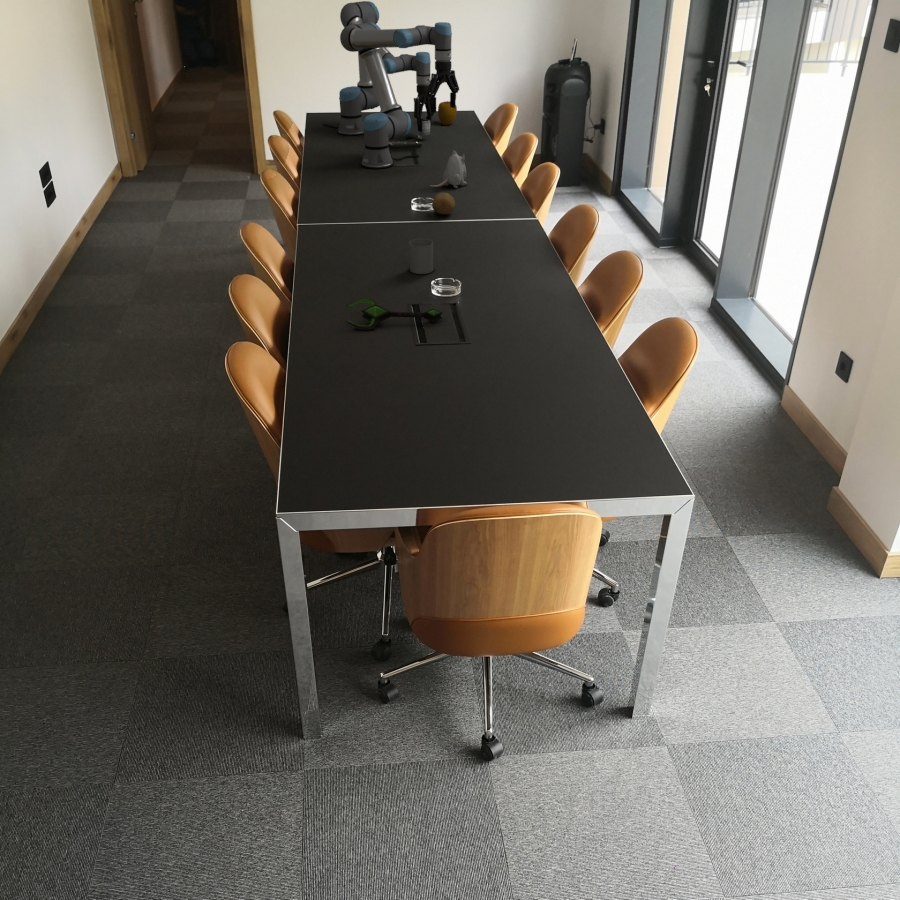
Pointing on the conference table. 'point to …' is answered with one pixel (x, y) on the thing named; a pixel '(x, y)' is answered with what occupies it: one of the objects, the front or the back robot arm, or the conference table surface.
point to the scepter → (389, 314)
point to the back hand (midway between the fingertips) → (424, 130)
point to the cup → (421, 256)
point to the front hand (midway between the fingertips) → (443, 109)
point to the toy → (454, 171)
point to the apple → (446, 113)
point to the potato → (443, 203)
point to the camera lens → (425, 127)
